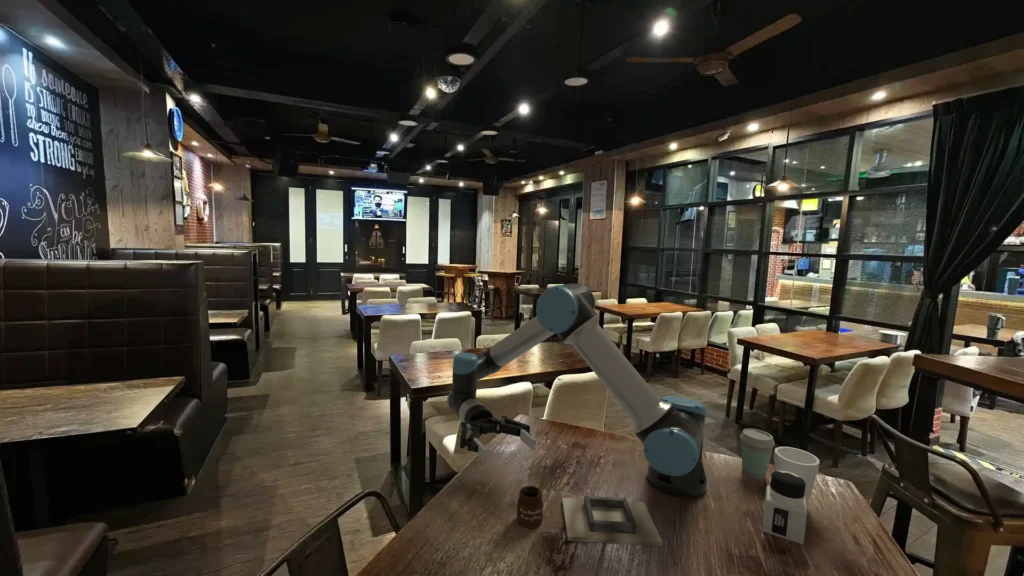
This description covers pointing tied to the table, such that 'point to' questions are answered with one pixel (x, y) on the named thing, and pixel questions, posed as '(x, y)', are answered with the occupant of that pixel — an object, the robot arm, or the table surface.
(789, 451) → the foam cup
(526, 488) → the utensil holder
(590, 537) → the collar board
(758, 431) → the coffee cup
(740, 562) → the table surface
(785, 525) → the container
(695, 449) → the robot arm
